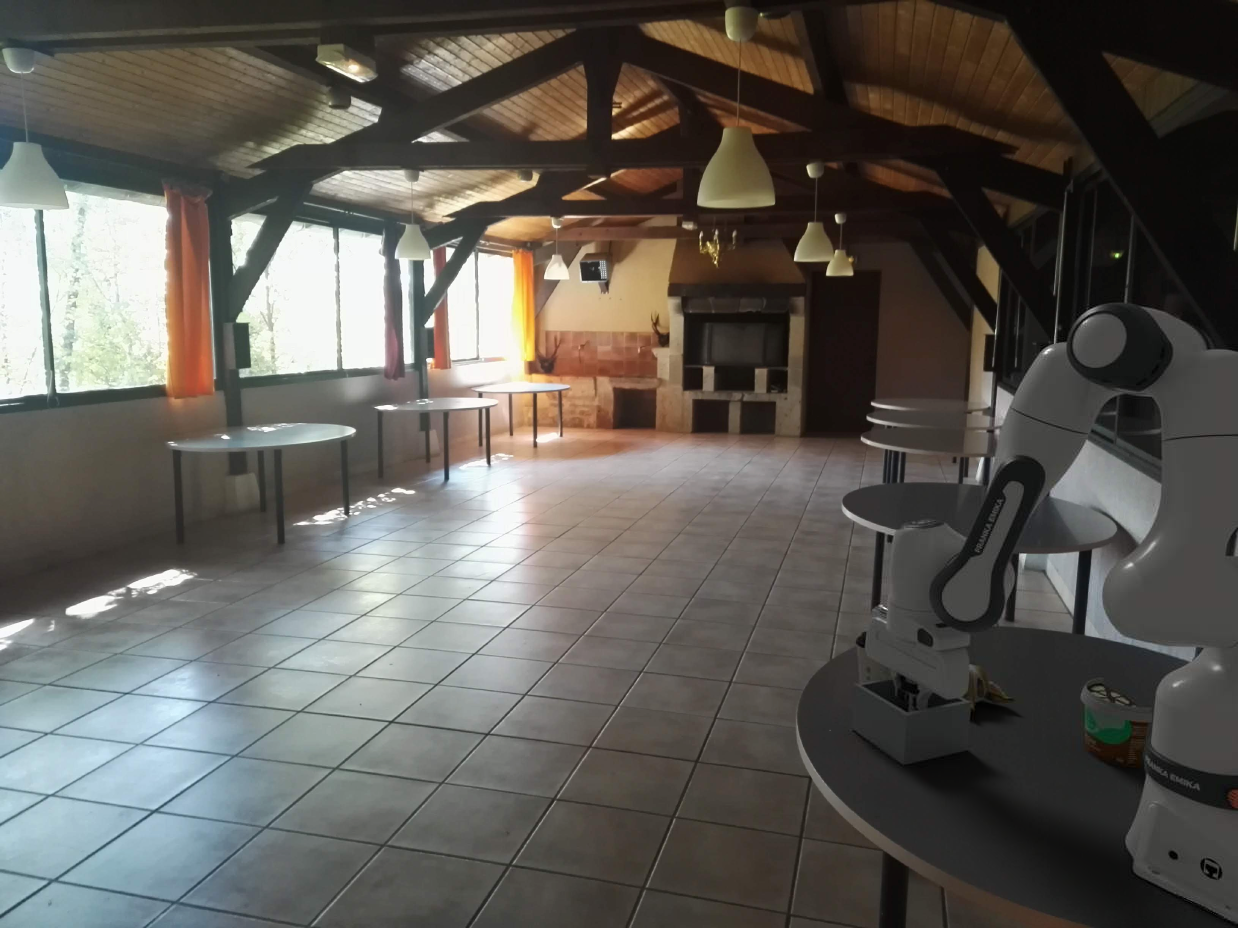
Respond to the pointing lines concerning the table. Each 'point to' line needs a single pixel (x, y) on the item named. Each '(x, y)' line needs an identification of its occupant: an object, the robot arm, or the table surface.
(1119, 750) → the food container
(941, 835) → the table surface
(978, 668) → the ceramic sculpture
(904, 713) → the bin
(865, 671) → the coffee cup
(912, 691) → the push button
